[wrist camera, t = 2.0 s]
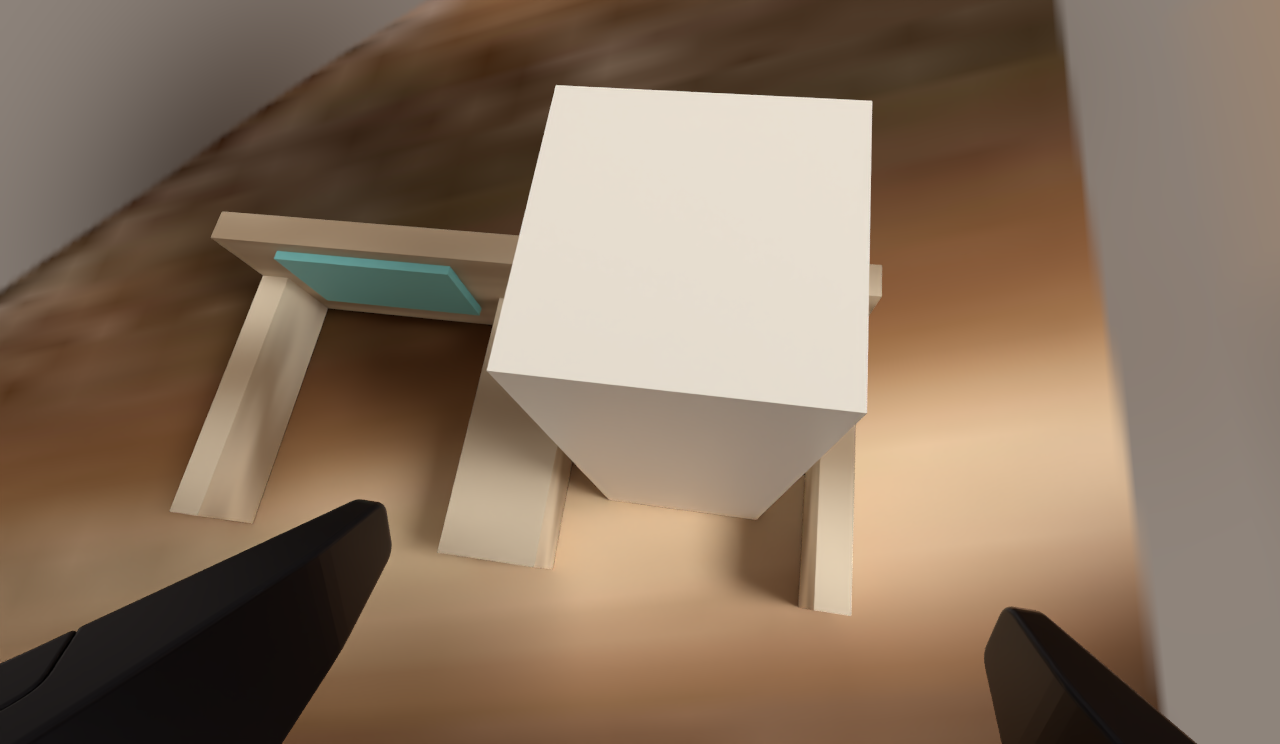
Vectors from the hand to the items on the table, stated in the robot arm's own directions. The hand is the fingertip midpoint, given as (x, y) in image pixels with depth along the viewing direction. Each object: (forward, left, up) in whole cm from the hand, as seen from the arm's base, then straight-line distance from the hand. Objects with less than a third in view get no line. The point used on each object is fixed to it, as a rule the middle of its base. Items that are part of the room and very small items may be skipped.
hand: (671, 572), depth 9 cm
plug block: (+3, +4, -11) cm, 12 cm away
